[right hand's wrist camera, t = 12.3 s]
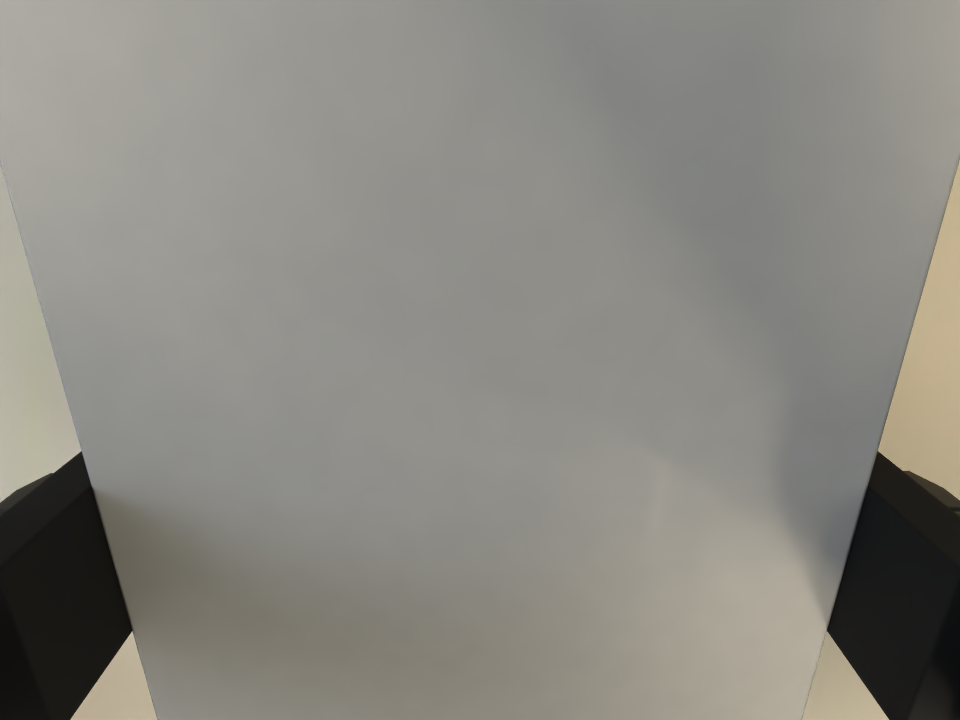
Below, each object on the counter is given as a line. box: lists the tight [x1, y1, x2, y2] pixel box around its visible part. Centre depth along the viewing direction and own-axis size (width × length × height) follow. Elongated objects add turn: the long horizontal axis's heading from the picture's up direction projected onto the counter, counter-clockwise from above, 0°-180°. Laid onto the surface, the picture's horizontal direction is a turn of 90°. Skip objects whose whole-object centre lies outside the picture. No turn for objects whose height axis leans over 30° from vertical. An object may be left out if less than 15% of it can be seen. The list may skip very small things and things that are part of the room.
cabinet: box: [0, 0, 960, 720], centre depth 12 cm, size 17×11×9 cm, turn 0°
